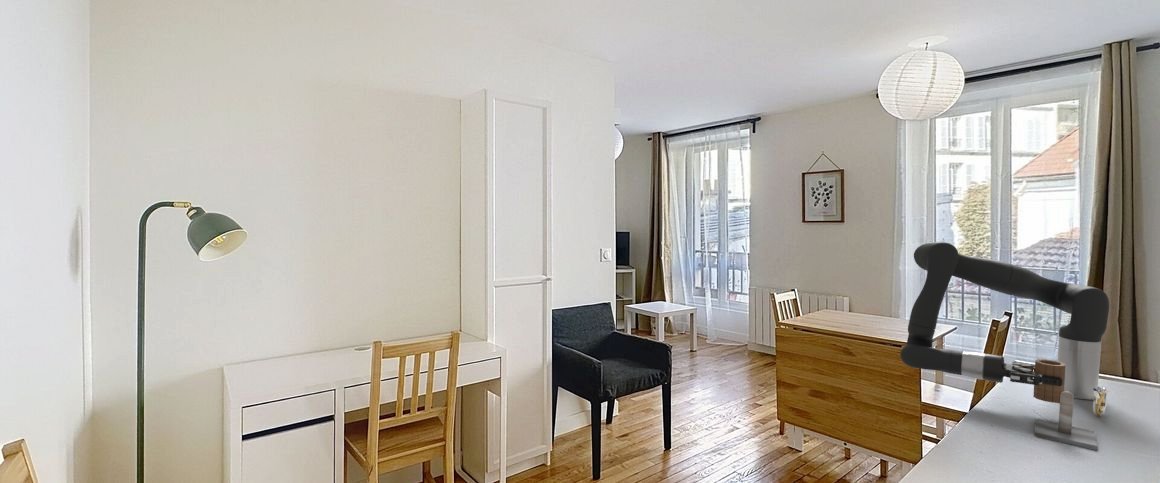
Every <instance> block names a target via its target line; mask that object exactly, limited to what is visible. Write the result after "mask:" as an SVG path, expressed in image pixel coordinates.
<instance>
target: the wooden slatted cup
mask: <svg viewBox="0 0 1160 483" xmlns="http://www.w3.org/2000/svg"><path fill="white" fill-rule="evenodd" d="M1034 361H1035V362H1034V365H1035V373H1038V374H1042V375H1048V376H1055V377H1061V378H1062V386H1056V385H1050V384H1044V383H1042V384H1039V385H1033V394H1032V395H1033V398H1035V399H1037V400H1038V401H1039V400H1040V401H1043V402H1047V403H1053V404H1060V396H1061V393H1062V392H1063V391H1064V382H1065V364H1064V363H1062V362H1058V361H1057V360H1053V359H1046V358H1045V359H1043V358H1042V359H1041V358H1037V359H1035V360H1034Z"/></svg>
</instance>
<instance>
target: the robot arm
mask: <svg viewBox="0 0 1160 483" xmlns="http://www.w3.org/2000/svg"><path fill="white" fill-rule="evenodd" d="M913 260H914V262H915V263H916V265H917V266H918V267H919V268H920V269H922V270H924V271H926V277H925V282H924V284H923V287H922V289H921V291H920V293H919V295H918V296H917V298H916V300H915V302H914V304H913V306H912V308H911V311H910V316H909V321H908V324H907V332H908V333H907V334H908V336H907V340H906V345H905V346H903V348H902V349H901V350H900V354H899V356H900V359H901V361H902V363H903V364H905V365H906V366H908V367H910V368H913V369H919V370H920V369H921V370H930V371H939V372H942V373H947V374H952V375H958V376H963V377H967V378H971V379H975V380H983V381H986V382H987V381H988V382H994V383H1000V384H1001V383H1003V380H1004V377H1005V378H1009V381H1010V382H1011V383H1019V384H1026V385H1033V386H1034V385H1039V384H1042V383H1044V384H1050V385H1056V386H1062V378H1061V377H1055V376H1048V375H1042V374H1038V373H1035V364H1033V363H1026V362H1025V363H1024V362H1020V361H1017V360H1016V361H1012V363H1005V357H1004V356H1003V355H998V354H990V353H984V352H983V353H982V352H977V351H963V350H956V349H949V348H945V349H944V348H936V347H933V341H934V339H933V338H934V335H935V333H936V329H937V324H938V319H939V314H940V311H941V306H942V303H943V300H944V297H945V294H946V292H947V289H948V286H949V284H950V282H951V279H952V277H955V278H958V279H962V280H965V281H967V282H969V283H972V284H974V285H977V286H980V287H983V288H987V289H988V290H992V291H995V292H998V293H1001V294H1005V295H1008V296H1011V297H1012V296H1013V297H1017V298H1022V299H1023V298H1024V299H1030V300H1033V301H1038V302H1040V303H1043V304H1044V305H1045V304H1046V305H1049V306H1051V307H1053V308H1055V309H1056V310H1057V309H1058V310H1060V311H1062V312H1064V313H1067V314H1070V321H1069V322H1068V324H1067V325H1062V326H1060V327H1059V330H1058V343H1057V355H1056V356H1057V357H1056V358H1057V359H1056V361H1058V362H1062V363H1064V364H1065V382H1064V391H1069V392H1071V393H1072V394H1073V395H1074V399H1079V400H1080V399H1081V400H1093V399H1094V390H1093V388H1097V387H1098V386H1099V378H1100V376H1099V375H1100V363H1101V346H1102V339H1103V338H1102V337H1103V336H1104V334H1105V332H1106V330H1107V325H1108V321H1109V320H1108V318H1109V312H1110V301H1109V300H1110V299H1109V297H1108V295H1107V293H1106V292H1105V291H1104V290H1102V289H1100V288H1097V287H1093V286H1089V285H1082V284H1079V283H1078V284H1077V283H1070V282H1064V281H1059V280H1054V279H1049V278H1047V277H1044V276H1042V275H1039V274H1037V273H1036V272H1034V271H1032V270H1030V269H1027V268H1025V267H1022V266H1020V265H1016V264H1013V263H1010V262H1005V261H1001V260H998V259H997V260H996V259H990V258H986V257H985V258H984V257H978V256H970V255H965V254H962V253H959V251H958V248H956V246H955V245H953V244H952V243H950V242H947V241H934V242H933V241H932V242H927V243H924V244H921V245H920V246H918V247H916V249H915V250H914V252H913Z"/></svg>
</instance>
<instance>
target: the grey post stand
mask: <svg viewBox="0 0 1160 483" xmlns="http://www.w3.org/2000/svg"><path fill="white" fill-rule="evenodd" d="M1074 401H1075V398H1074V395H1073V394H1072V393H1071V392H1069V391H1063V392H1062V393H1061V396H1060V403H1059V412H1058V423H1057V422H1052V421H1048V420H1047V421H1046V420H1043V419H1038V418H1035V421H1034V437H1036V438H1040V439H1041V438H1042V439H1045V440H1050V441H1055V442H1059V443H1063V444H1067V445H1072V446H1076V447H1081V448H1086V449H1091V450H1094V451H1098V450H1099V449H1098V448H1099V446H1098V442H1097V438H1096V433H1095V430H1092V429H1091V430H1090V429H1086V428H1081V427H1077V426H1073V415H1074Z"/></svg>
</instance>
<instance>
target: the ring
mask: <svg viewBox="0 0 1160 483" xmlns="http://www.w3.org/2000/svg"><path fill="white" fill-rule="evenodd" d="M1093 390H1094V399H1092V400H1093V401H1092V410H1093V414H1094V415H1096V416H1098V417H1102V416H1103V415H1104V414H1105V411H1106V408H1107V404H1108V394H1109V392H1110V390H1108V389H1107V387H1104V386H1099V385H1098V387H1097V388H1093ZM1098 395H1099V397H1098ZM1099 408H1100V409H1099Z"/></svg>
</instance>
